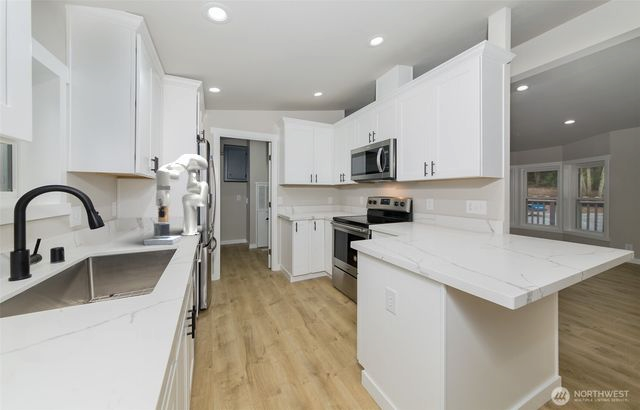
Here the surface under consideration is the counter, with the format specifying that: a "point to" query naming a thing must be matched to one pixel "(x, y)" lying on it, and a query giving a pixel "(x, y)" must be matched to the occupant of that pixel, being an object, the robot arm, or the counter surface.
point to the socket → (162, 240)
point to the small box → (161, 229)
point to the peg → (165, 219)
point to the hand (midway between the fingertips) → (163, 216)
